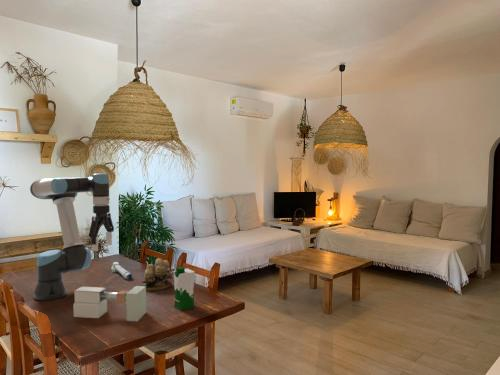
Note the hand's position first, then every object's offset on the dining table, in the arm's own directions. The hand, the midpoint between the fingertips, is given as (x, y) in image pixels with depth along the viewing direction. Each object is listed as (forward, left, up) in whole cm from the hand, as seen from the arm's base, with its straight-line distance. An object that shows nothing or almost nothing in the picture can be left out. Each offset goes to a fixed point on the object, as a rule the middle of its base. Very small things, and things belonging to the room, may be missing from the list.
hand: (102, 247), depth 187 cm
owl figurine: (+18, +28, -29) cm, 44 cm away
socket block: (+23, -12, -29) cm, 38 cm away
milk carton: (+41, +2, -29) cm, 50 cm away
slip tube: (+13, -12, -22) cm, 28 cm away
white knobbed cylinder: (-13, +47, -29) cm, 57 cm away
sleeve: (0, -12, -29) cm, 31 cm away
